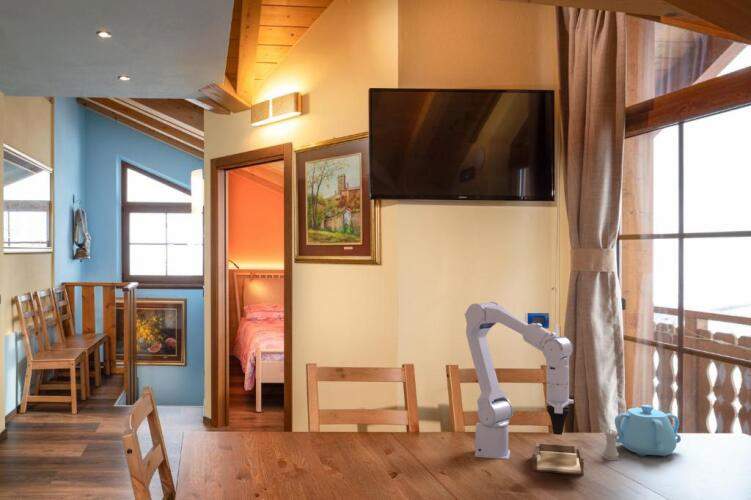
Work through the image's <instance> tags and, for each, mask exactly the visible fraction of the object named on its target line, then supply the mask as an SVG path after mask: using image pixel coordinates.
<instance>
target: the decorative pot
mask: <svg viewBox="0 0 751 500" xmlns="http://www.w3.org/2000/svg"><path fill="white" fill-rule="evenodd" d="M670 418H673V419H674V426H672V423H671V421H670ZM620 419H622V420H621V422H620ZM614 424H615V425H614V426H615V428H616V434H617V436H616V437H615V439H616V443H618V444H622V446H623V447H624V448H625V449H626V450H629V451H630V452H633V453H635V454H636V455H637V457H645V456H649V455H650V456H658V457H663V458H664V457H668V455H671V454H673V452H674V451H675V449H676V448H677V444H678V443H680V442H681V440H682V438H681V436H680V434H678V431H679V426H680V419H679V418H678V416H676V415H675V414H673V413H668V412H667V413H665V412H663V411H662V410H658V409H656V408H655V409H654V406H652V405H650V404H642V405H640V407H637V406H635V407H632V408H628V409H627V410H626V412H622V413H619V414H617V415H616V416H615V418H614ZM617 437H618V438H617ZM676 437H677V438H676Z"/></svg>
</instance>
